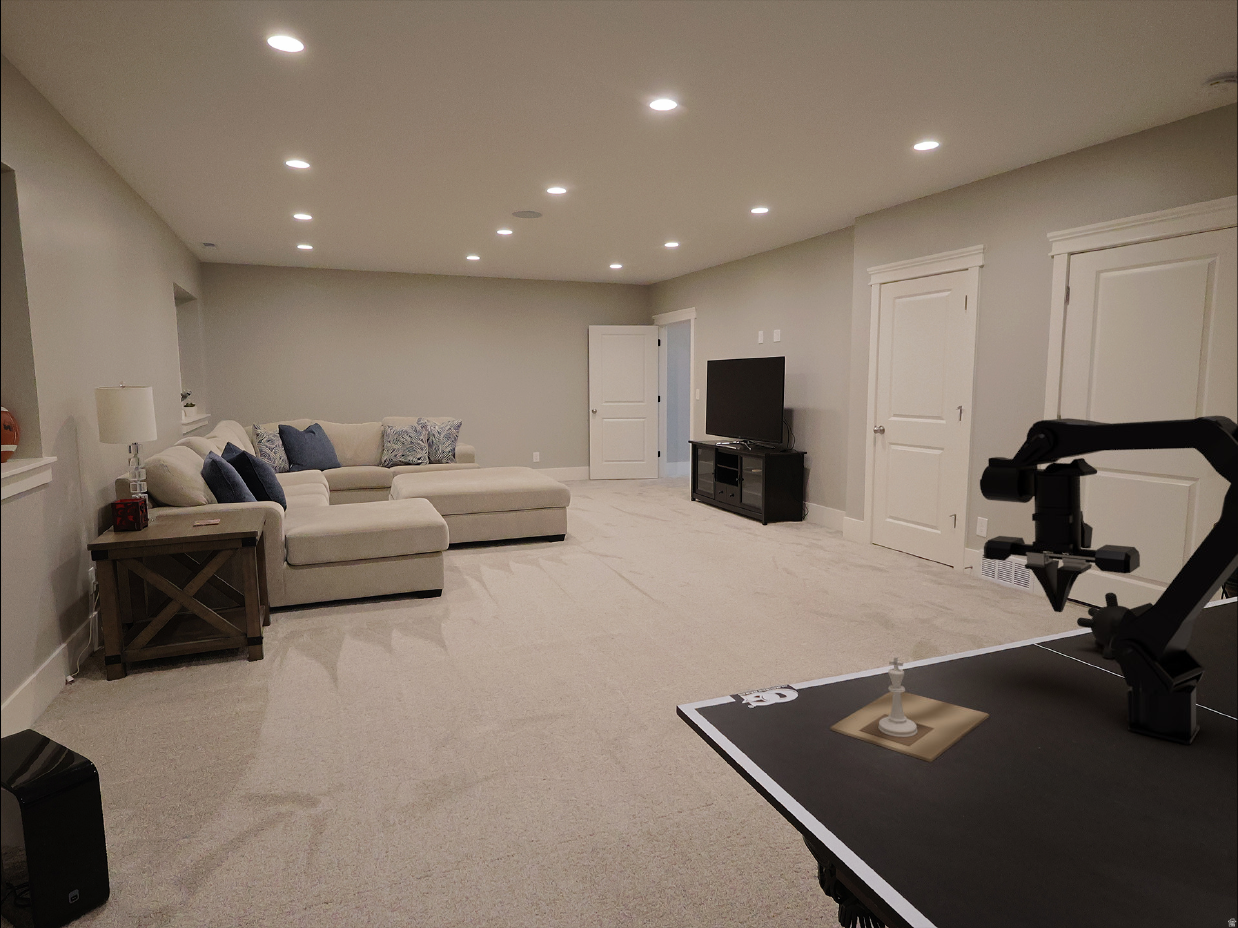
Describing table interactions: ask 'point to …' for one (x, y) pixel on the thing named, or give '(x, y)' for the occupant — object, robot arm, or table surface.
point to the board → (932, 718)
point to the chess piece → (897, 707)
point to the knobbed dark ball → (1104, 622)
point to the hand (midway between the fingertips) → (1058, 611)
